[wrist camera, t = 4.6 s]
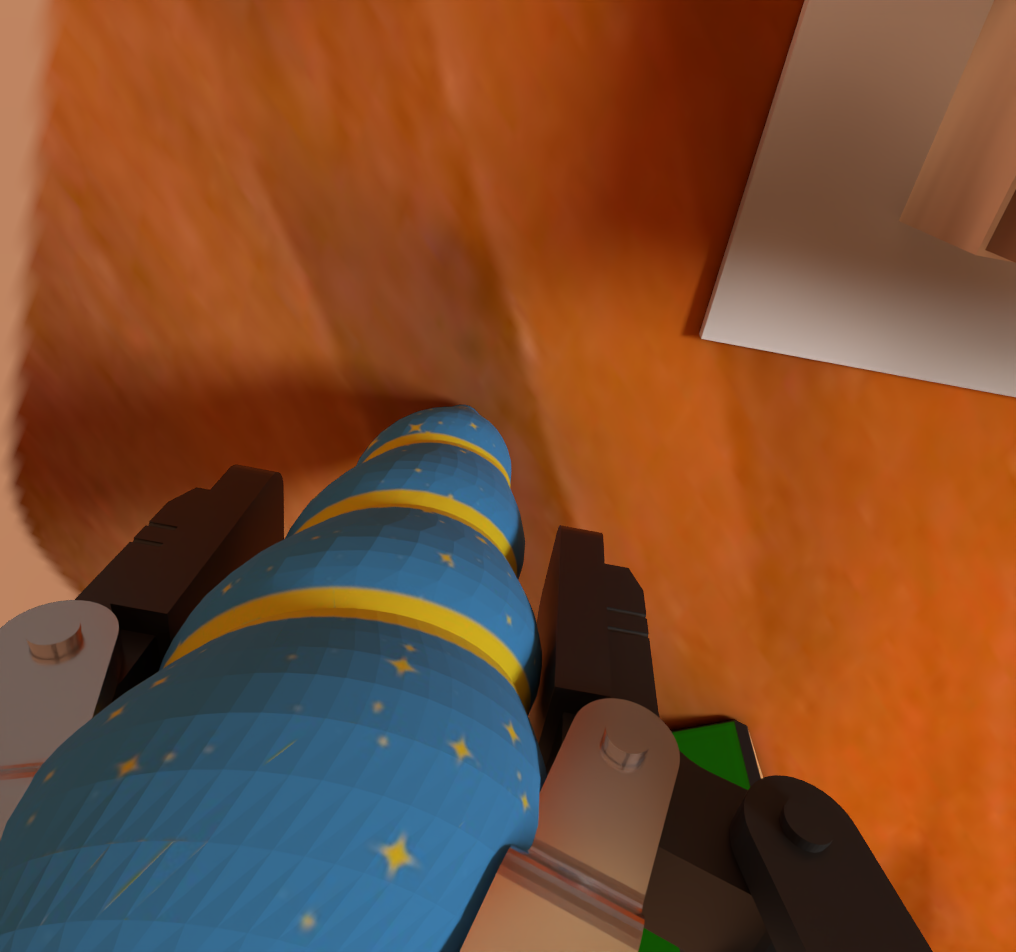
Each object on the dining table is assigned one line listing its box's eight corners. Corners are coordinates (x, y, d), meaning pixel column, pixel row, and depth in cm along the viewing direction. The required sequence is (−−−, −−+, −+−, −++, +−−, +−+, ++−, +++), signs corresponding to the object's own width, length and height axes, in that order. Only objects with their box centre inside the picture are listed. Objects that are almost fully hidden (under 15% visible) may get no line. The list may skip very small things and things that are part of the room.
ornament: (432, 530, 18) (70, 1631, 5) (310, 371, 16) (-741, 1517, 3) (607, 448, 17) (693, 1775, 4) (494, 259, 15) (-205, 1723, 2)
